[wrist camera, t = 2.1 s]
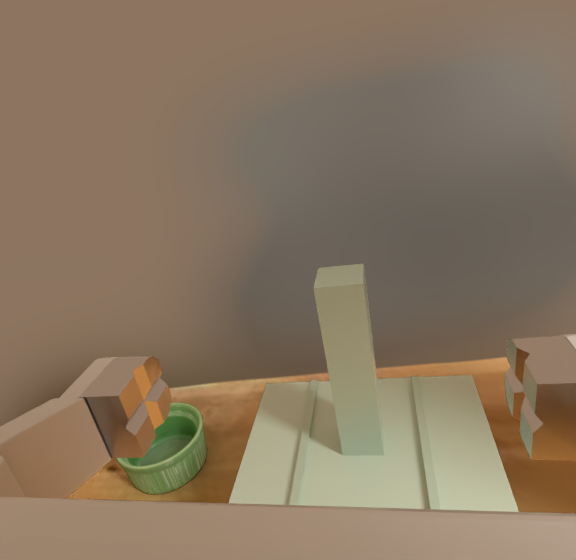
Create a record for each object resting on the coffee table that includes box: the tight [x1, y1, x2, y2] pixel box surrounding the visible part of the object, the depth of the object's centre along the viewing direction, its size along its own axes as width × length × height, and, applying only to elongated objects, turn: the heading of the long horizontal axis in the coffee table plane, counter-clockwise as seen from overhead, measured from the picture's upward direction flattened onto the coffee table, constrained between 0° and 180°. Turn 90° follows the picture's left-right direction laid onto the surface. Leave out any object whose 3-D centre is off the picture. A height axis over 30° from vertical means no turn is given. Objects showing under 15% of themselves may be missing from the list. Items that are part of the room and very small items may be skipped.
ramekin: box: [116, 402, 207, 494], centre depth 45 cm, size 9×9×4 cm
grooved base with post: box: [228, 264, 519, 512], centre depth 30 cm, size 19×15×15 cm
